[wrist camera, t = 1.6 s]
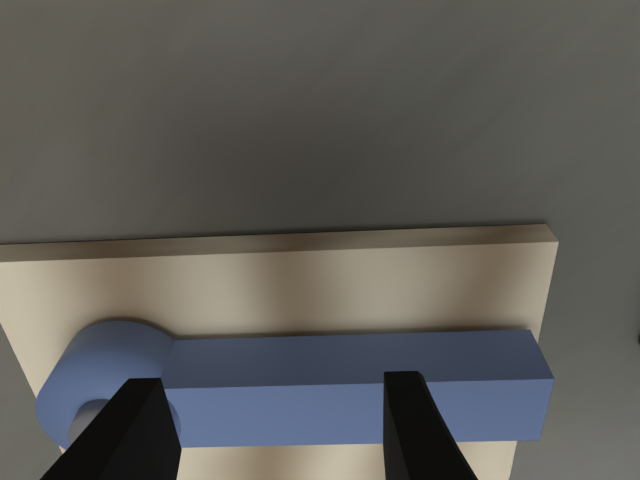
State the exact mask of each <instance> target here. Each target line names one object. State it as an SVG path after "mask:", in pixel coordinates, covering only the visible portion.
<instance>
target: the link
mask: <svg viewBox="0 0 640 480" xmlns="http://www.w3.org/2000/svg"><path fill="white" fill-rule="evenodd" d="M386 371H418V372H420V373H421V374H422V375H423V376H424V379H425V382H426V384H427V386H428V389H429V391H430V393H431V395H432V397H433V400H434V402H435V404H436V406H437V408H438V410H439V412H440V414H441V416H442V418H443V420H444V421H445V423H446V425H447V427H448V429H449V431H450V433H451V435H452V436H453V438H454V440H455V442H484V441H532V440H540V437H541V432H542V428H543V424H544V420H545V416H546V412H547V408H548V404H549V400H550V395H551V391H552V387H553V383H554V377H553V375H552V373H551V371H550V369H549V367H548V364H547V362H546V360H545V358H544V356H543V354H542V352H541V350H540V348H539V346H538V344H537V342H536V340H535V338H534V336H533V334H532V332H531V330H530V329H528V330H495V331H461V332H428V333H394V334H360V335H327V336H293V337H260V338H226V339H193V340H174V339H173V338H171V337H170V336H168V335H167V334H165V333H163V332H161V331H159V330H157V329H155V328H152V327H150V326H147V325H143V324H140V323H135V322H128V321H107V322H101V323H97V324H94V325H91V326H89V327H87V328H85V329H83V330H82V331H80V332H79V333H77V334H76V335H75V336H74V337H73V339H72V340H71V341H70V343H69V344H68V346H67V348H66V349H65V351H64V353H63V354H62V356H61V357H60V359H59V361H58V362H57V364H56V365H55V367H54V369H53V370H52V372H51V373H50V375H49V377H48V378H47V380H46V382H45V383H44V385H43V386H42V388H41V390H40V391H39V393H38V396H37V398H36V403H35V411H36V416H37V418H38V421H39V423H40V425H41V427H42V428H43V430H44V431H45V432H46V434H47V435H48V436H49V437H50V438H51V439H52V440H53V441H54V442H55V443H57V444H58V445H59V446H61V447H62V448H64V449H65V450H67V449H68V448H69V446H70V445H71V444H72V443H73V442H74V441H75V440H76V438H77V437H78V436H79V435H80V434H81V433H82V431H83V430H84V429H85V428H86V427H87V426H88V425H89V423H90V422H91V421H92V420H93V419H94V418H95V416H96V415H97V414H98V413H99V412H100V411H101V409H102V408H103V407H104V406H105V405H106V403H107V402H108V401H109V400H110V399H111V398H112V396H113V395H114V394H115V393H116V392H117V391H118V390H119V388H120V387H121V386H122V385H123V384H124V383H125V382H126V381H127V380H128V379H129V378H161V380H162V383H163V387H164V390H165V394H166V397H167V400H168V404H169V407H170V411H171V414H172V418H173V421H174V424H175V428H176V431H177V435H178V438H179V442H180V445H181V448H196V447H244V446H292V445H340V444H383V388H384V372H386Z"/></svg>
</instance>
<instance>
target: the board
mask: <svg viewBox="0 0 640 480" xmlns="http://www.w3.org/2000/svg"><path fill="white" fill-rule="evenodd" d="M558 243H559V241H558V240H557V239H556V237H555V236H554V234H553V233H552V231H551V230H550V229H549V227H548V226H547V224H532V225H505V226H479V227H453V228H427V229H401V230H375V231H348V232H322V233H296V234H270V235H244V236H218V237H192V238H165V239H139V240H113V241H87V242H61V243H35V244H8V245H0V323H1V325H2V327H3V329H4V331H5V333H6V335H7V337H8V340H9V342H10V344H11V346H12V348H13V350H14V352H15V354H16V356H17V359H18V361H19V363H20V365H21V367H22V369H23V371H24V373H25V375H26V378H27V380H28V382H29V384H30V386H31V388H32V390H33V392H34V394H35V397H36V398H37V396H38V393H39V391H40V390H41V388H42V386H43V385H44V383H45V382H46V380H47V378H48V377H49V375H50V373H51V372H52V370H53V369H54V367H55V365H56V364H57V362H58V361H59V359H60V357H61V356H62V354H63V353H64V351H65V349H66V348H67V346H68V344H69V343H70V341H71V340H72V339H73V337H74V336H75V335H76V334H77V333H79V332H80V331H82V330H83V329H85V328H87V327H89V326H91V325H94V324H97V323H101V322H107V321H128V322H135V323H140V324H143V325H147V326H150V327H152V328H155V329H157V330H159V331H161V332H163V333H165V334H167V335H168V336H170V337H171V338H173V339H174V340H193V339H226V338H260V337H293V336H327V335H360V334H394V333H428V332H461V331H495V330H528V329H530V330H531V332H532V334H533V336H534V338H535V340H536V342H537V343H538V339H539V334H540V329H541V324H542V319H543V315H544V310H545V305H546V300H547V296H548V291H549V286H550V281H551V277H552V272H553V267H554V262H555V258H556V253H557V248H558ZM456 443H457V445H458V447H459V449H460V450H461V452H462V454H463V455H464V457H465V459H466V460H467V462H468V464H469V465H470V467H471V469H472V470H473V472H474V474H475V475H476V477H477V478H478V480H509V477H510V472H511V467H512V462H513V458H514V453H515V448H516V443H517V441H484V442H456ZM59 447H60V449H61V451H62V453H64V452H65V451H66V450H65V449H64V448H62V447H61V446H59ZM177 480H386V479H385V466H384V453H383V444H340V445H292V446H244V447H196V448H182V451H181V457H180V463H179V469H178V474H177Z"/></svg>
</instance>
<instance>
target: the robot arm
mask: <svg viewBox="0 0 640 480" xmlns="http://www.w3.org/2000/svg"><path fill="white" fill-rule="evenodd" d="M181 451H182V448H181V445H180V442H179V438H178V435H177V431H176V428H175V424H174V421H173V418H172V414H171V411H170V407H169V404H168V400H167V397H166V394H165V390H164V387H163V383H162V380H161V378H129V379H128V380H127V381H126V382H125V383H124V384H123V385H122V386H121V387H120V388H119V390H118V391H117V392H116V393H115V394H114V395H113V396H112V398H111V399H110V400H109V401H108V402H107V403H106V405H105V406H104V407H103V408H102V409H101V411H100V412H99V413H98V414H97V415H96V416H95V418H94V419H93V420H92V421H91V422H90V423H89V425H88V426H87V427H86V428H85V429H84V430H83V431H82V433H81V434H80V435H79V436H78V437H77V438H76V440H75V441H74V442H73V443H72V444H71V445H70V446H69V448H68V449H67V450H66V451H65V452H64V453H63V454H62V455H61V456H60V458H59V459H58V460H57V461H56V462H55V463H54V464H53V465H52V466H51V468H50V469H49V470H48V471H47V472H46V473H45V474H44V475H43V477H42V478H41V479H40V480H177V474H178V469H179V463H180V457H181ZM383 453H384V466H385V479H386V480H478V478H477V477H476V475H475V474H474V472H473V470H472V469H471V467H470V465H469V464H468V462H467V460H466V459H465V457H464V455H463V454H462V452H461V450H460V449H459V447H458V445H457V443H456V442H455V440H454V438H453V436H452V435H451V433H450V431H449V429H448V427H447V425H446V423H445V421H444V420H443V418H442V416H441V414H440V412H439V410H438V408H437V406H436V404H435V402H434V400H433V397H432V395H431V393H430V391H429V389H428V386H427V384H426V382H425V379H424V376H423V375H422V374H421V373H420V372H418V371H386V372H384V388H383Z"/></svg>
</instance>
